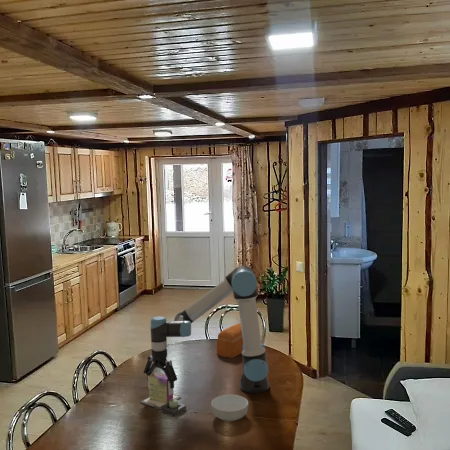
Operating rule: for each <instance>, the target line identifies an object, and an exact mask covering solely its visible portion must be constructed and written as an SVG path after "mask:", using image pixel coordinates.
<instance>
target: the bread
mask: <svg viewBox="0 0 450 450" xmlns="http://www.w3.org/2000/svg"><path fill="white" fill-rule="evenodd" d="M242 349H243V336H242V329H241V322H240V323H237V324H234V325H231V326H230V327H227V328H225V329H223V330H221V331H220V332H219V333H218V334H217V339H216V354H217V355H218V356H220V357H224V358H231V359H232V358H236V357H237V356H240V355H242V351H243V350H242Z"/></svg>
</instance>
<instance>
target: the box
mask: <svg viewBox="0 0 450 450" xmlns="http://www.w3.org/2000/svg"><path fill="white" fill-rule="evenodd" d="M168 382H169V380H168V378H167V376H166V374H165V373H161V372H152V374H151V375H150V376H149V389H148V391H149V392H148V393H149V394H148V395H149V396H148V397H150V399H152V400H157V401H161V402H165V403H168V402H169V401H170V400H172V399H173V394H174V393H173V394H172V395H169V392H168Z"/></svg>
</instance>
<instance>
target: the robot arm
mask: <svg viewBox="0 0 450 450" xmlns="http://www.w3.org/2000/svg"><path fill="white" fill-rule="evenodd" d="M258 291H259V290H258V281H257V277H256V273H255V271H254V270H253V269H252V267H249V266H247V265H239V266H237V267H235V268H234V269H233V270H232V271H230V272H229V273H228V274H227V275H226V276H225V277H224V280H223V281H221V282H220V283H219V284H217V285H216V286H215V287H213V288H212V289H211V290H210V291H207V293H205V294H204V295H202V296H201V297H200V298H198V299H197V300H196V301H194V302H193V303H192V304H191V305H189V306H188V307H187V308H185V309H184V310H182V311H179V312H178V313H177V314H176V315H175V317H174V320H167V317H165V316H161V315H159V316H154V317H152V318H151V319H150V328H149V329H150V344H151V346H150V347H151V355H150V356H149V355H148V356H147V361H146V364H145V367H144V370H143V374H145V375H146V377H147V378H146V380H147V386H148V387H147V388H148V390H149V376H150V375H151V374H153V373H154V371H155V369H156V368H157V369H161V370H162V372H164V373H163V374H166V376H167V378H168V380H169V382H168V392H169V395H172V394H174V393H175V392H174V388H175V382H176V381H178V377H177V374H176V371H175V369H174V366H173V361H172V360H171V359H170V360H167V357H168V349H167V348H168V340H167V339H168V338H186V337H188V338H189V337H190V336H192V323H194V322H195V321H196V320H198V319H199V318H200V317H202V316H203V315H204V314H206V313H207V312H209V311H210V310H212V309H213V308H215V306H217V305H218V304H219V303H221V302H222V301H224V299H227V298H228V297H229V296H230V295H231V294H233V299H234V300H236V301H237V306H238V312H239V319H240V320H239V321H240V323H241V329H242V336H243V349H242V350H243V351H242V353H241V358H242V359H241V360H242V374H241V378H240V381H239V388H240V389H241V391H243V392H246V393H251V394H257V393H259V394H260V393H263V392H266V391H267V390H269V388H270V382H269V378H268V374H269V365H268V360H267V358H268V357H267V353H266V346H265V343H264V342H262V340H261V339H262V338H261V333H260V332H261V330H260V323H259V316H258V308H257V302H256V299H257V297H259V292H258Z"/></svg>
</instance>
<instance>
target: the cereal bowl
mask: <svg viewBox="0 0 450 450" xmlns="http://www.w3.org/2000/svg"><path fill="white" fill-rule="evenodd" d="M210 404H211V405H210V406H211V412H212V413H213V416H215V417H216V418H218V419H220V420H223V421H226V422H234V421H237V420H240V419H242V418H244V417H245V416H246V414H247V413H248V409H249V400H248V399H247V398H245V397H244V396H241V395H238V394H229V393H228V394H223V395H218V396H216V397H215V398H213V399H212V400H211V403H210Z"/></svg>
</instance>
